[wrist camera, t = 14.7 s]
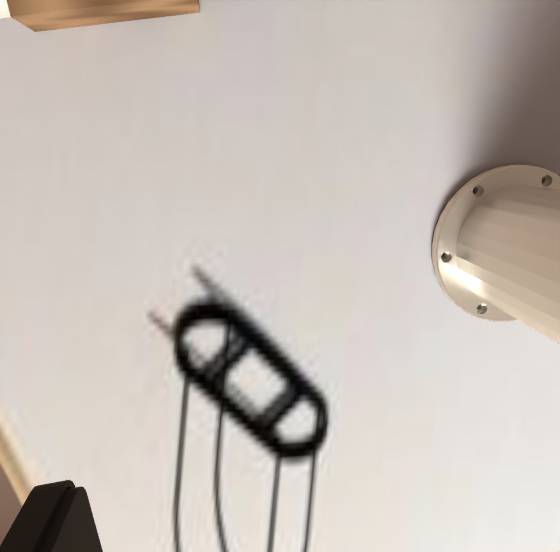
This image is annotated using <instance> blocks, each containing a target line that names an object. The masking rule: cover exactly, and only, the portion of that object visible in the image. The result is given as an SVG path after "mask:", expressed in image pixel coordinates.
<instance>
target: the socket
mask: <svg viewBox="0 0 560 552" xmlns="http://www.w3.org/2000/svg"><path fill="white" fill-rule="evenodd" d="M6 1H7V5H8V9H9V13H10V16H11V17H12V18H14V19H15V20H17V21H19V22H20V23H22V24H23V25H25V26H27V27H28V28H30V29H31V30H33V31H35V32H37V31H46V30H54V29H63V28H71V27H80V26H88V25H97V24H105V23H114V22H122V21H131V20H139V19H148V18H156V17H165V16H173V15H182V14H190V13H199V12H200V11H199V4H198V0H6Z"/></svg>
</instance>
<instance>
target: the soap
mask: <svg viewBox="0 0 560 552" xmlns="http://www.w3.org/2000/svg"><path fill="white" fill-rule="evenodd" d="M6 17H11V16H10V13H9V9H8V5H7V1H6V0H0V18H6Z"/></svg>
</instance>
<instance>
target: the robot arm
mask: <svg viewBox="0 0 560 552" xmlns="http://www.w3.org/2000/svg"><path fill="white" fill-rule="evenodd" d="M541 181H542V182H541ZM474 187H475V192H474V193H473V189H474ZM443 253H444V256H443V257H442V258H441V255H442V254H443ZM432 261H433V266H434V271H435V275H436V277H437V279H438V282H439V284H440V287H441V288H442V289H443V291H444V292H445V294H446V295H447V296H448V298H449V299H450V300H451V301H453V302H454V303H455V304H456V305H457V306H458V307H460V308H461V309H463V310H464V311H466V312H467V313H469V314H471V315H473V316H475V317H477V318H480V319H485V320H489V321H499V322H508V321H514V320H519V321H521V322H523V323H525V324H526V325H528V326H530V327H531V328H533V329H535V330H537V331H538V332H540V333H542V334H544V335H545V336H547V337H549V338H550V339H552V340H554V341H556V342H557V343H559V344H560V176H558V175H557V174H556V173H554V172H552V171H549V170H547V169H544V168H542V167H537V166H531V165H514V164H513V165H507V166H500V167H496V168H493V169H491V170H488V171H485V172H483V173H481V174H479V175H478V176H476V177H474V178H472V179H471V180H470V181H468V182H467V183H466V184H465V185H464V186H462V187H461V188H460V189H459V190H458V191H457V192H456V193H455V195H454V196H453V197H452V198H451V199H450V200H449V202H448V203H447V205H446V207H445V208H444V210H443V212H442V214H441V215H440V218H439V220H438V223H437V226H436V228H435V232H434V238H433V243H432ZM478 306H479V307H478ZM477 307H478V308H477ZM0 552H103V551H102V547H101V544H100V540H99V536H98V533H97V529H96V525H95V522H94V518H93V514H92V511H91V507H90V503H89V500H88V496H87V493H86V490H85V489H84V487H75V485H74V483H73V482H72V481H70V480H66V481H60V482H55V483H49V484H44V485H38V486H36V487H34V488H33V489H32V491H31V492H30V494H29V496H28V498H27V499H26V501H25V503H24V505H23V507H22V508H21V510H20V512H19V514H18V515H17V517H16V519H15V521H14V522H13V524H12V526H11V528H10V530H9V532H8V533H7V535H6V537H5V539H4V540H3V542H2V544H1V546H0Z"/></svg>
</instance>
